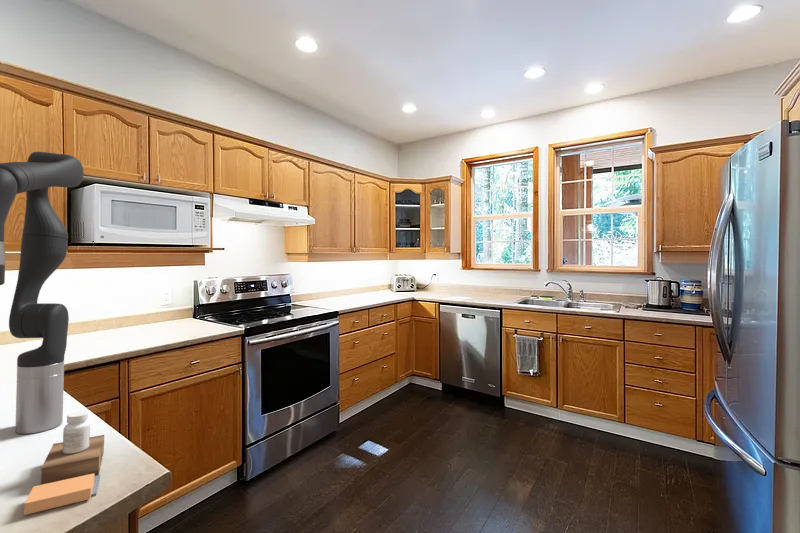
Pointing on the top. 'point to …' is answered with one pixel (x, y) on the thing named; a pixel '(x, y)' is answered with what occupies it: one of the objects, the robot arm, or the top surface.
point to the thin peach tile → (59, 493)
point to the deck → (72, 462)
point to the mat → (95, 485)
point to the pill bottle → (76, 433)
